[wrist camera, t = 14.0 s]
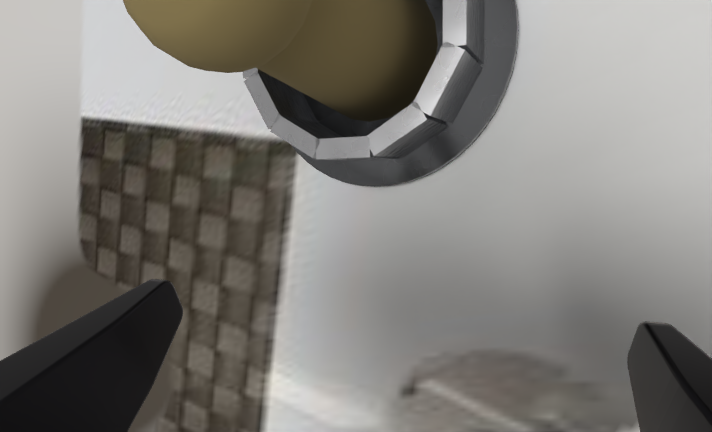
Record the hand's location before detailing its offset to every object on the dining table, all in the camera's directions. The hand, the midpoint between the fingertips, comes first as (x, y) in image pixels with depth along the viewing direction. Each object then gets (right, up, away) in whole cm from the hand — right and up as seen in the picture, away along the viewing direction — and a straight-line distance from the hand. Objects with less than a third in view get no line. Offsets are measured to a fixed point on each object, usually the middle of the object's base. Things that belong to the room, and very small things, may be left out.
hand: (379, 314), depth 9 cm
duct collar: (0, +9, +11) cm, 15 cm away
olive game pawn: (0, +9, +11) cm, 14 cm away
